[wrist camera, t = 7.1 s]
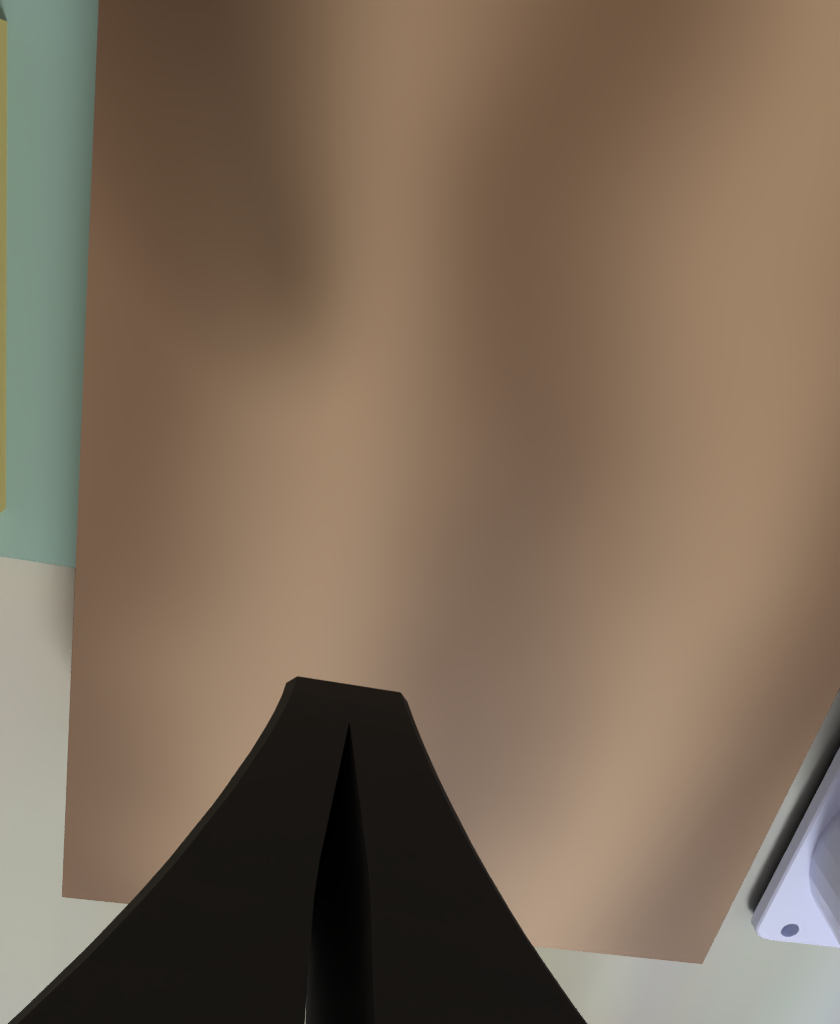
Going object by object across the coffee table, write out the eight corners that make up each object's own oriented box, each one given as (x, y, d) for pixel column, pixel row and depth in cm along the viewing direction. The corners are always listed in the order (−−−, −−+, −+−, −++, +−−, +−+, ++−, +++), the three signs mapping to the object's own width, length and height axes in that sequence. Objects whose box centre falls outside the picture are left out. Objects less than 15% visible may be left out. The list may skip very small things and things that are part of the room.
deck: (1002, -23, 14) (1231, -97, 10) (646, 828, 21) (702, 964, 18) (198, -253, 12) (116, -446, 8) (122, 761, 20) (61, 896, 16)
